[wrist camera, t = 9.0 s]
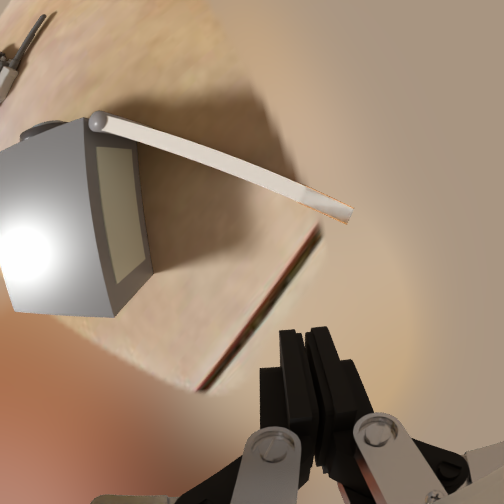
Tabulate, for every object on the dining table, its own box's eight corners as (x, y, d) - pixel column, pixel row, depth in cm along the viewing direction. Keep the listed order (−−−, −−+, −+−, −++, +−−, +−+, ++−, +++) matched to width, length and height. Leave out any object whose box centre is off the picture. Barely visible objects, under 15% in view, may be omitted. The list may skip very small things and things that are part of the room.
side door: (136, 137, 24) (85, 128, 15) (141, 123, 23) (92, 108, 15) (318, 207, 25) (346, 227, 17) (324, 193, 25) (355, 206, 16)
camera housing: (43, 140, 24) (-15, 141, 15) (136, 112, 23) (84, 93, 14) (63, 277, 28) (14, 311, 19) (154, 273, 27) (115, 317, 19)
